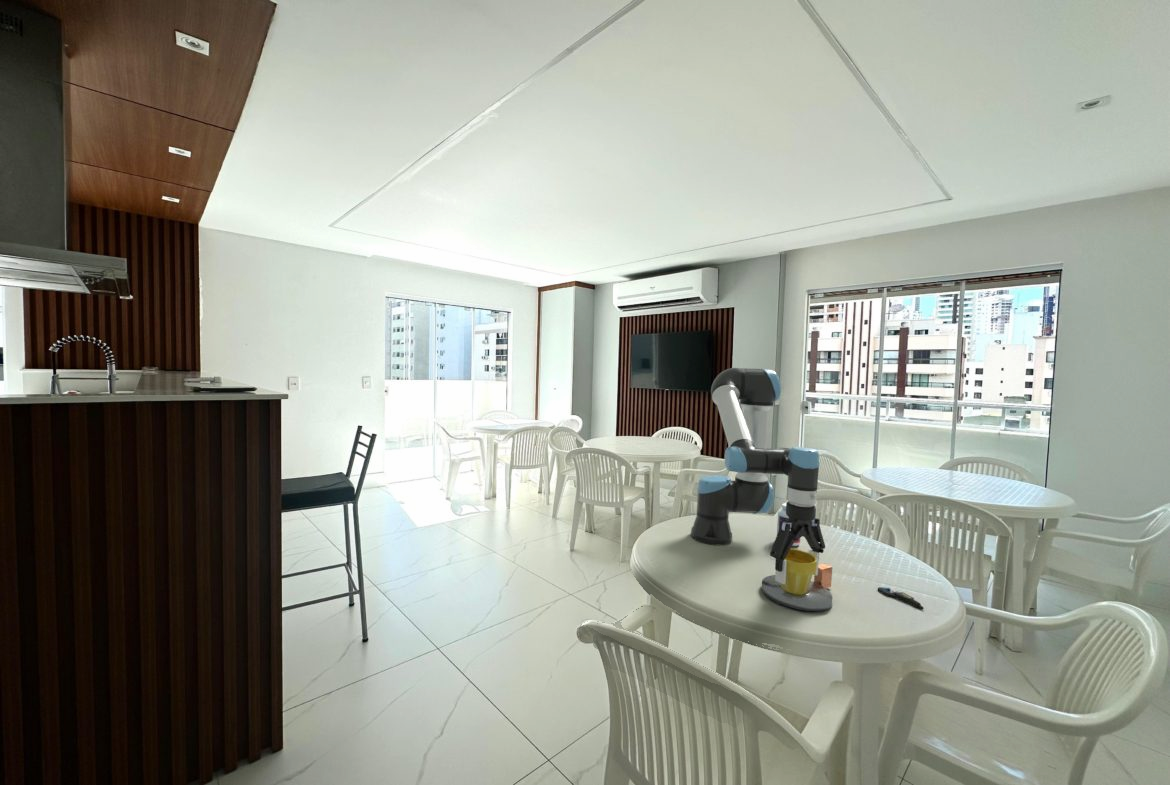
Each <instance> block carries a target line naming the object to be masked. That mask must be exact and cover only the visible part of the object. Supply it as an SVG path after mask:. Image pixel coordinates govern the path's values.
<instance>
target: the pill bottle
mask: <svg viewBox="0 0 1170 785" xmlns="http://www.w3.org/2000/svg"><path fill="white" fill-rule="evenodd" d="M786 503H787V502H785V503H782V505H781V509H779V510H778V513H777V526H776V528H777V530H776V535H777V534H778V531H779V527H780V522H785V523H788V521H789V517H788V516H787V515H786ZM790 534H791V532H790ZM791 535H792V534H791ZM800 544H801V538H798V540H796V541H795V542H794V543H793V545H792V547H797V546H799V545H800Z"/></svg>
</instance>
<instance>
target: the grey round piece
mask: <svg viewBox="0 0 1170 785" xmlns="http://www.w3.org/2000/svg"><path fill="white" fill-rule="evenodd" d="M775 575H776V574H771V575H768V576H765V577H763V579H762V581H761V591H762V593H763V594H764V595H765V596H766V597H767V598H769V599H771V601H774V602H776V603H777V604H780V605H782V606H785V607H788V608H792V609H794V610H799V611H800V610H801V611H807V612H821V611H826V610H828V609H830V608H832V606H833V594H832V593H831V592H830V590H828V589H829V588H831V587H832V582H833V581H832V579H833V578H832V577H833V576H832V575H833V566H832V565H828V564H826V563H821V564H818V575H817V576H815V575H814V576H813V580H811V581H810V584H809V587H808V590H807V593H806V594H803V595H798V594H793V593H790V592H787V591H785V590H784V589H783V588H782V587H781V583H780V582H778V581H776V580H775Z"/></svg>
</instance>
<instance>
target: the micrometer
mask: <svg viewBox="0 0 1170 785" xmlns="http://www.w3.org/2000/svg"><path fill="white" fill-rule="evenodd" d="M877 591H878V592H879V593H881V594H883V595H884V596H886V597H889V598H892V599H893V598H894V599H896V600H898V601H901V602H903V603H906V604H908V605H910V606H912V607H914V608H916V609H920V610H924V606H922V604H921V603H920V602H918V601H917V600H916V599H915V598H914V597H913V596H911V595H909V594H907V593H905V592H900V591H894V590H891V588H890V587H885V586H884V587H880V586H879V587H877Z"/></svg>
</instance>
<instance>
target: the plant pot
mask: <svg viewBox="0 0 1170 785" xmlns="http://www.w3.org/2000/svg"><path fill="white" fill-rule="evenodd" d="M781 555H782V554H781ZM785 560H787V566H786V583H785V584H782V583H781V587H782V588H783V589H784V590H785V591H787V592H790V593H793V594H798V595H803V594H806V593H807V590H808V587H809V584H810V581H812V578H813V574H814V573H815V572H816V567H817V559H816V557H815V556H813V555H812V554H810V553H809V551H808V552H807V551H804V550H801V549H796V548H791V549H790V551H789V552H788V554H787V556H786V558H785Z"/></svg>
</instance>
